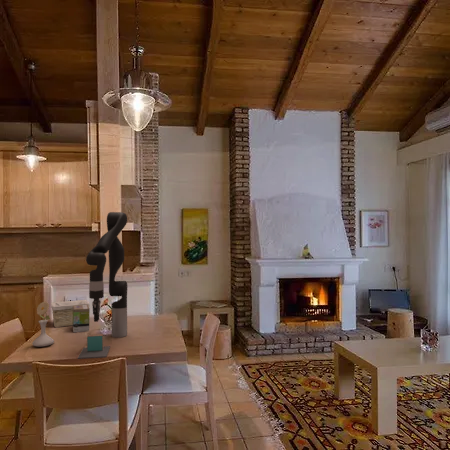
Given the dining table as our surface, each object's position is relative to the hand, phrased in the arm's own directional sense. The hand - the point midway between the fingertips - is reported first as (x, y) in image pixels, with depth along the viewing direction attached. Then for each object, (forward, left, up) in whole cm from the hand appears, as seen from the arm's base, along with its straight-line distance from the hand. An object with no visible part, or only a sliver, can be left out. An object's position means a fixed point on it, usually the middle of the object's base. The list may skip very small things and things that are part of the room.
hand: (96, 320), depth 225 cm
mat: (+8, 0, -15) cm, 17 cm away
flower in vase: (-11, -30, -15) cm, 35 cm away
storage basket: (-64, -26, -15) cm, 71 cm away
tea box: (-46, -16, -15) cm, 51 cm away
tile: (+6, 0, -15) cm, 16 cm away
